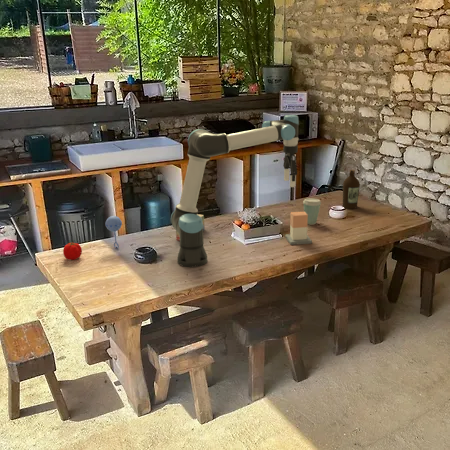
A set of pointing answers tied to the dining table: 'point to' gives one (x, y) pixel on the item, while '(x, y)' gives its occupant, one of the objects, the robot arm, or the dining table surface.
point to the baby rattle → (114, 225)
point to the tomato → (72, 251)
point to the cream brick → (298, 233)
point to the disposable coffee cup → (311, 209)
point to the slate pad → (301, 241)
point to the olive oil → (350, 191)
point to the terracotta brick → (298, 219)
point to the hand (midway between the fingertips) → (289, 183)
